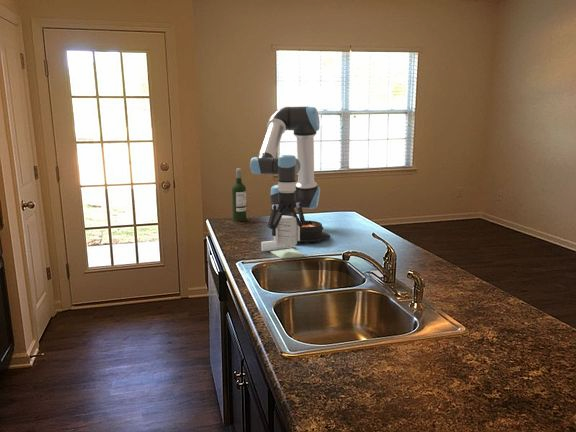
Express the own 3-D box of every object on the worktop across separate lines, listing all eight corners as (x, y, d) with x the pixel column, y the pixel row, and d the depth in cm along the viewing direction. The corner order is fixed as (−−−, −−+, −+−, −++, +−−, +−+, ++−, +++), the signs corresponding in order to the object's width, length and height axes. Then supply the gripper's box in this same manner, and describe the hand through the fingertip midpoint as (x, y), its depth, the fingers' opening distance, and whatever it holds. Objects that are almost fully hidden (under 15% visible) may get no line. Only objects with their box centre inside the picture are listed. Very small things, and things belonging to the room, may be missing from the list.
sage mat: (292, 249, 220) (292, 248, 219) (303, 255, 210) (303, 254, 210) (270, 252, 215) (270, 251, 215) (280, 258, 205) (280, 257, 205)
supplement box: (282, 242, 216) (282, 215, 214) (297, 244, 213) (297, 216, 211) (275, 246, 209) (275, 218, 207) (291, 248, 207) (291, 219, 204)
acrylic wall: (293, 246, 224) (293, 238, 223) (294, 247, 223) (294, 238, 222) (261, 250, 217) (261, 242, 216) (262, 251, 216) (262, 242, 215)
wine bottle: (239, 222, 274) (238, 169, 268) (229, 220, 279) (228, 168, 273) (249, 219, 280) (248, 168, 274) (239, 218, 285) (238, 167, 279)
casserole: (319, 233, 249) (320, 217, 247) (337, 242, 232) (338, 225, 230) (275, 238, 239) (275, 222, 237) (290, 247, 222) (290, 230, 220)
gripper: (305, 188, 215) (305, 236, 219) (259, 192, 205) (259, 242, 209) (314, 190, 208) (313, 240, 213) (266, 194, 198) (266, 246, 203)
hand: (286, 241), depth 211 cm, fingers closed on supplement box, 10 cm apart
